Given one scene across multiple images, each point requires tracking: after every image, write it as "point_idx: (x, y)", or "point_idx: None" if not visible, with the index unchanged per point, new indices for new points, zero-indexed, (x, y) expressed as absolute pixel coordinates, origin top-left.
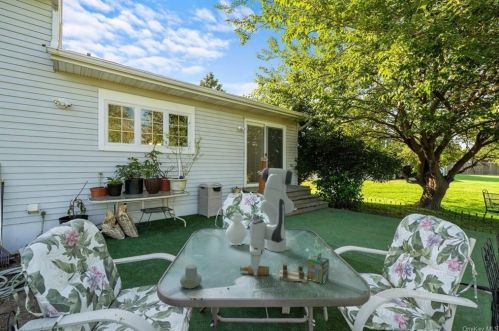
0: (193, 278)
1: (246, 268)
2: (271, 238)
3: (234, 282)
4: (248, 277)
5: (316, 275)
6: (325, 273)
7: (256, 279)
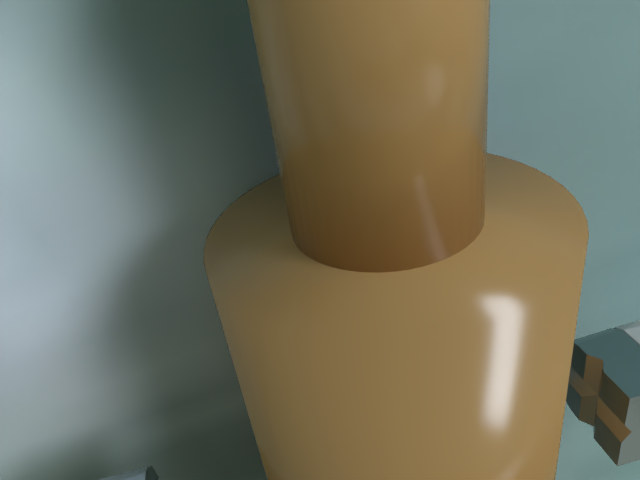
0: None
1: (311, 175)
2: None
3: None
4: (33, 271)
5: None
6: None
7: (47, 475)
